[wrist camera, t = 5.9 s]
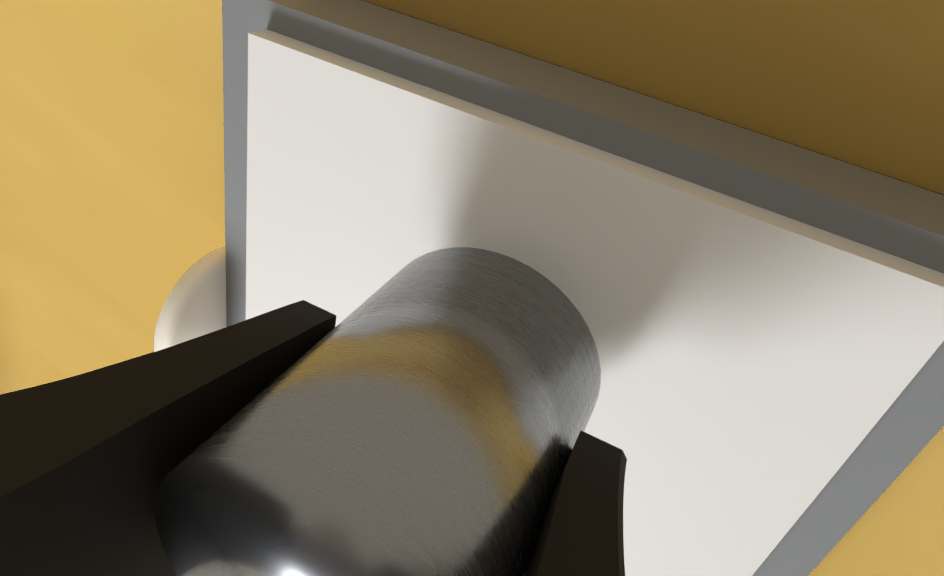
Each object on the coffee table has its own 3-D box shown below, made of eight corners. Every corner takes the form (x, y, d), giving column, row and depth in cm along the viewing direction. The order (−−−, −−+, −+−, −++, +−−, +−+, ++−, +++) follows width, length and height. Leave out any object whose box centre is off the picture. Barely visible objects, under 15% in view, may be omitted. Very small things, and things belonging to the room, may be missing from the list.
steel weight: (556, 485, 12) (428, 780, 8) (367, 387, 12) (162, 606, 8) (639, 313, 9) (519, 607, 5) (400, 208, 10) (143, 394, 6)
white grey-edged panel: (657, 686, 19) (632, 825, 16) (250, 462, 22) (168, 544, 20) (1030, 224, 10) (1126, 350, 7) (259, -35, 13) (109, -21, 11)
